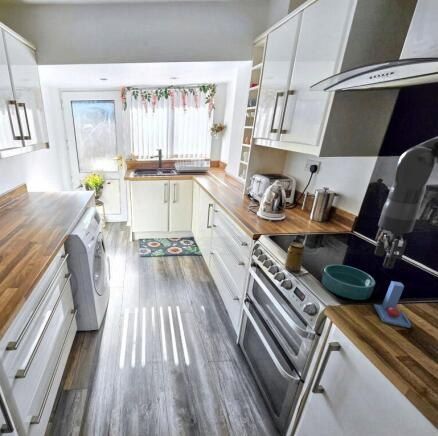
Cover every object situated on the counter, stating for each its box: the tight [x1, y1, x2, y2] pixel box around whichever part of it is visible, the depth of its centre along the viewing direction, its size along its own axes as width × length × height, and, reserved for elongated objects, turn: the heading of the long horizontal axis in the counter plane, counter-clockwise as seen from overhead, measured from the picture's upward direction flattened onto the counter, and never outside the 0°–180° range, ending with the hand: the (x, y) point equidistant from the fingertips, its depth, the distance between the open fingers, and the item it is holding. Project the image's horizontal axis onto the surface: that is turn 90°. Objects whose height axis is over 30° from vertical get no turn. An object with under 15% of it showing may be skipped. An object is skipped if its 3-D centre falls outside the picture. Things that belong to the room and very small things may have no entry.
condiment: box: [280, 241, 309, 276], centre depth 105 cm, size 7×8×12 cm
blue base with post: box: [373, 280, 412, 329], centre depth 78 cm, size 8×7×11 cm
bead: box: [387, 307, 402, 318], centre depth 79 cm, size 3×3×3 cm
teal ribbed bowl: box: [321, 263, 376, 301], centre depth 93 cm, size 15×15×6 cm
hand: (382, 261), depth 78 cm, fingers open, 8 cm apart
